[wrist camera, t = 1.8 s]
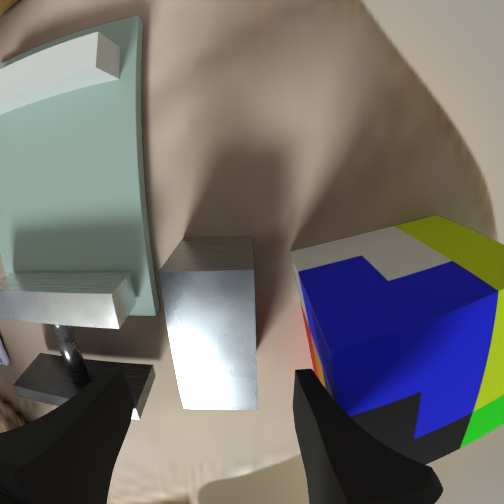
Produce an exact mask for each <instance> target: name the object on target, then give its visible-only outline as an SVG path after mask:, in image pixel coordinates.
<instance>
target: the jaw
mask: <svg viewBox="0 0 504 504" xmlns="http://www.w3.org/2000/svg"><path fill="white" fill-rule="evenodd" d="M135 305H136V298H135V293H134V287H133V281H132V275H131V272H94V273H9V274H8V275H6V276H5V277H3V278H2V279H0V318H2V319H10V320H18V321H27V322H36V323H46V324H51V326H52V329H53V332H54V335H55V338H56V341H57V343H58V346H59V349H60V352H61V355H62V356H57V355H51V354H44V353H40V354H39V355H38V356H37V357H36V359H35V360H34V361H33V362H32V363H31V364H30V366H29V367H28V368H27V369H26V370H25V372H24V373H23V374H22V375H21V376H20V378H19V379H18V380H17V381H16V382H15V384H14V385H13V386H14V388H15V390H16V392H17V393H18V395H19V396H21V397H25V398H28V399H32V400H36V401H40V402H43V403H47V404H52V405H56V406H60V405H62V404H63V403H65V402H66V401H67V400H69V399H70V398H71V397H73V396H74V395H76V394H77V393H78V392H79V391H81V390H82V389H83V388H84V387H86V386H87V385H88V384H89V383H91V382H92V381H93V380H94V379H95V378H97V377H98V376H99V375H100V374H102V373H103V372H104V371H105V370H107V369H108V368H109V367H119V368H123V369H124V372H125V375H126V378H127V381H128V384H129V387H130V390H131V393H132V396H133V399H134V402H135V404H134V409H133V414H132V418H131V419H137V420H140V418H141V415H142V412H143V409H144V406H145V404H146V401H147V398H148V395H149V393H150V390H151V387H152V384H153V382H154V379H155V376H156V375H155V371H154V367H153V365H147V364H132V363H119V362H108V361H98V360H89V359H83V356H82V353H81V350H80V347H79V344H78V341H77V338H76V335H75V332H74V328H73V326H81V327H96V328H113V329H120V327H121V326H122V324H123V323H124V321H125V320H126V318H127V317H128V315H129V314H130V312H131V311H132V309H133V308H134V306H135Z"/></svg>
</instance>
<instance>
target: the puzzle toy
mask: <svg viewBox="0 0 504 504" xmlns="http://www.w3.org/2000/svg"><path fill="white" fill-rule="evenodd" d="M290 256H291V261H292V265H293V270H294V274H295V279H296V284H297V288H298V293H299V298H300V303H301V308H302V312H303V317H304V322H305V327H306V332H307V337H308V342H309V347H310V352H311V358H312V363H313V368H314V373H315V374H316V376H317V377H318V379H319V380H320V382H321V383H322V384H323V386H324V387H325V388H326V390H327V391H328V392H329V394H330V395H331V396H332V397H333V398H334V400H335V401H336V402H337V403H338V404H339V405H340V407H341V408H342V409H343V410H344V411H345V412H346V413H347V414H348V415H349V416H350V417H351V418H352V419H353V420H354V421H355V422H356V423H357V424H358V425H360V426H361V427H362V428H363V429H364V430H365V431H367V432H368V433H369V434H370V435H372V436H373V437H374V438H376V439H377V440H379V441H380V442H382V443H383V444H385V445H386V446H388V447H389V448H391V449H393V450H394V451H396V452H398V453H400V454H402V455H404V456H406V457H408V458H410V459H412V460H414V461H417V462H419V463H422V464H424V465H425V464H428V463H430V462H432V461H435V460H437V459H439V458H441V457H443V456H445V455H447V454H450V453H451V452H454V451H456V450H458V449H460V448H461V447H463V446H465V445H467V444H469V443H471V442H473V441H474V440H476V439H478V438H480V437H482V436H484V435H485V434H487V433H489V432H490V431H492V430H494V429H495V428H497V427H498V426H500V425H502V424H503V423H504V245H503V244H501V243H499V242H497V241H495V240H492V239H490V238H488V237H486V236H484V235H481V234H479V233H477V232H475V231H472V230H470V229H468V228H466V227H463V226H461V225H459V224H456V223H454V222H452V221H449V220H447V219H444V218H442V217H439V216H437V215H435V216H431V217H427V218H423V219H419V220H415V221H411V222H407V223H403V224H399V225H395V226H391V227H387V228H383V229H379V230H375V231H371V232H367V233H363V234H359V235H355V236H351V237H347V238H343V239H339V240H335V241H331V242H327V243H323V244H319V245H315V246H311V247H307V248H303V249H299V250H294V251H290Z"/></svg>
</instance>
